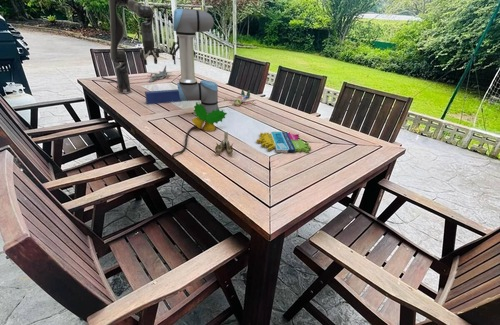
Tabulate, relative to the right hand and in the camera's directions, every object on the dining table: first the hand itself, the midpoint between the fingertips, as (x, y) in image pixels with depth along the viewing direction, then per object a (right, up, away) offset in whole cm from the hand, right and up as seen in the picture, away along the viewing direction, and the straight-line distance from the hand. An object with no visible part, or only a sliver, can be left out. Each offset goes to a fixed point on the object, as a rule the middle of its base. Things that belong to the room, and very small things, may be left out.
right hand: (183, 64), depth 211 cm
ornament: (+28, -58, -46) cm, 80 cm away
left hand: (-17, -9, -24) cm, 31 cm away
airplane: (-41, +9, +65) cm, 78 cm away
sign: (+73, -68, -59) cm, 116 cm away
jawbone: (+40, -74, -73) cm, 111 cm away
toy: (+47, -28, +10) cm, 55 cm away
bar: (-14, -31, -4) cm, 34 cm away
